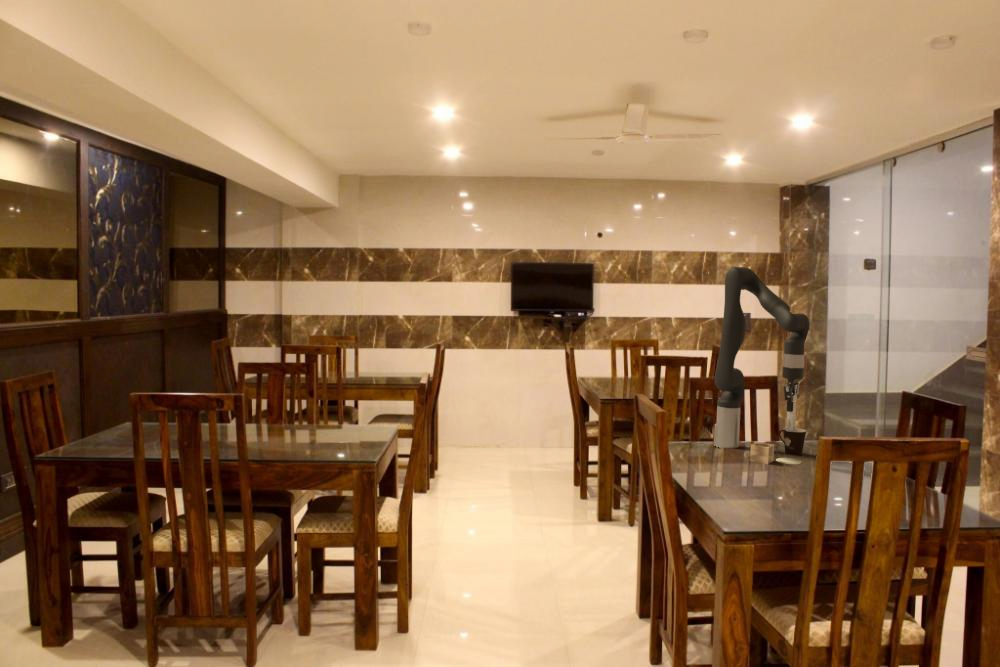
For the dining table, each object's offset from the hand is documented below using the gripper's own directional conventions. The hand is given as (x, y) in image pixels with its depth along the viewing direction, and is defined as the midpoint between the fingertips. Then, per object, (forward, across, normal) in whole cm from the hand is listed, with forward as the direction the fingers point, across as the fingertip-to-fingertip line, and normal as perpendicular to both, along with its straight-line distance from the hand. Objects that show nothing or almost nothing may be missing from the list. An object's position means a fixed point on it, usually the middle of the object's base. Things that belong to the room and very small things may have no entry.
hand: (791, 410), depth 274 cm
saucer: (+20, 0, 0) cm, 20 cm away
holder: (+20, +7, -8) cm, 23 cm away
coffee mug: (+21, -18, -4) cm, 28 cm away
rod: (+8, 0, 0) cm, 8 cm away
